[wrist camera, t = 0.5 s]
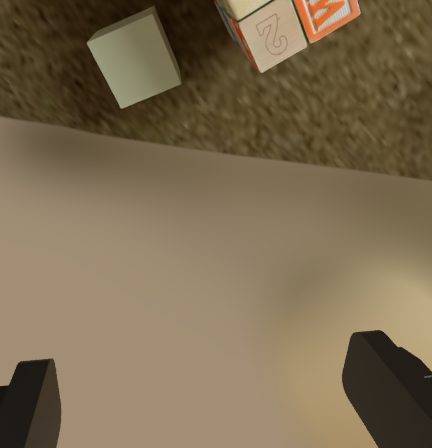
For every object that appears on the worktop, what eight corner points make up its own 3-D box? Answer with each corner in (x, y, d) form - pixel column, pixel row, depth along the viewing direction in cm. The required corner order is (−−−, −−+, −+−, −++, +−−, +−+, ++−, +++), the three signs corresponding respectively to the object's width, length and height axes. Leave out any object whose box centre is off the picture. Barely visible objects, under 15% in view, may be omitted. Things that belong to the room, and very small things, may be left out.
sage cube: (97, 31, 31) (86, 42, 27) (154, 5, 30) (152, 13, 26) (126, 89, 33) (121, 108, 29) (179, 67, 33) (181, 84, 29)
